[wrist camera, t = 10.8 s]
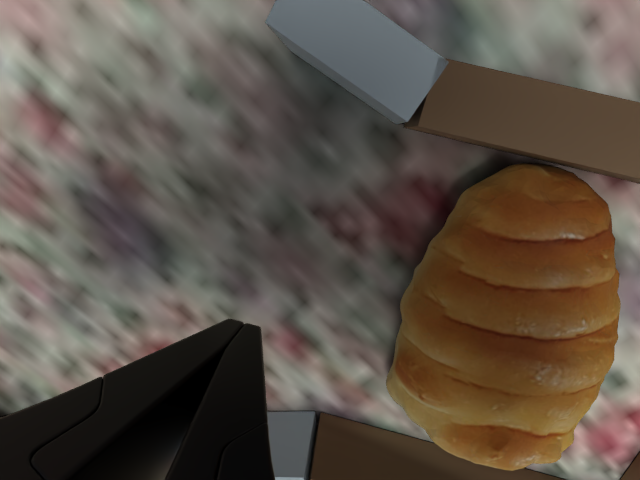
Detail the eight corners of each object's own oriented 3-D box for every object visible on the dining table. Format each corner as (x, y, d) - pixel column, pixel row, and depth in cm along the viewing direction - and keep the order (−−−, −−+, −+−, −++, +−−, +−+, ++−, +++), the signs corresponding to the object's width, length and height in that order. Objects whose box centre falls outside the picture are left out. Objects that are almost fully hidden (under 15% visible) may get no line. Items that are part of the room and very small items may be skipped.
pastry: (416, 152, 11) (443, 162, 8) (633, 169, 11) (771, 188, 7) (381, 383, 14) (388, 468, 11) (550, 405, 14) (618, 504, 10)
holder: (625, 548, 15) (685, 645, 12) (223, 435, 16) (193, 501, 13) (949, 144, 9) (1200, 150, 7) (300, -1, 10) (276, -52, 7)
